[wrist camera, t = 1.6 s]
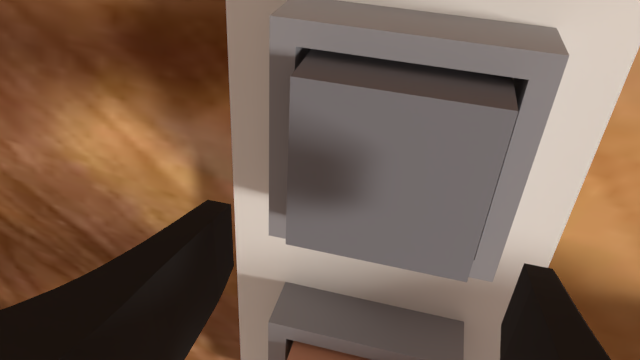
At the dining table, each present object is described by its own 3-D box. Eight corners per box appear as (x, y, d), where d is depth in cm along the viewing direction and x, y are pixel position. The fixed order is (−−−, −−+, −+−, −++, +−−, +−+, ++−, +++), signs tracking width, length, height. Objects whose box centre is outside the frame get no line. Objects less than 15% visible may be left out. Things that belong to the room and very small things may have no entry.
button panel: (643, -26, 16) (694, 13, 12) (471, 419, 29) (471, 501, 26) (245, -68, 18) (188, -46, 14) (253, 364, 31) (225, 432, 28)
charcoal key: (511, 69, 15) (518, 111, 13) (467, 225, 19) (467, 282, 16) (317, 42, 16) (290, 76, 14) (308, 194, 20) (285, 244, 17)
